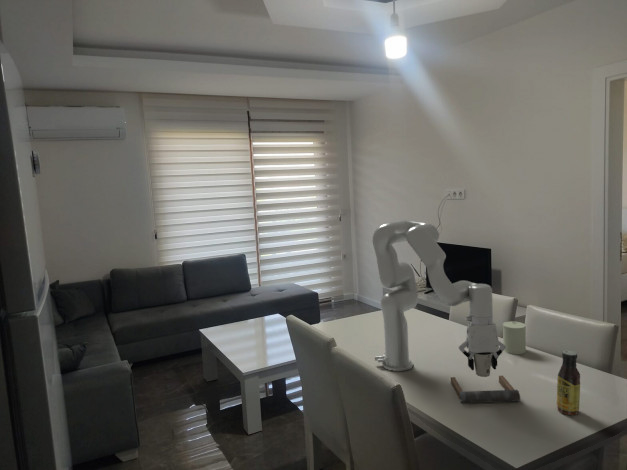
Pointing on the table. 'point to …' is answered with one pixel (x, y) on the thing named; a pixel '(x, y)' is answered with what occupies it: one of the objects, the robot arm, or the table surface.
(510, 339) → the can
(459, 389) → the bay
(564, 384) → the sauce bottle
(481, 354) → the coffee cup
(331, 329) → the table surface
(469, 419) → the table surface
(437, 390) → the table surface
